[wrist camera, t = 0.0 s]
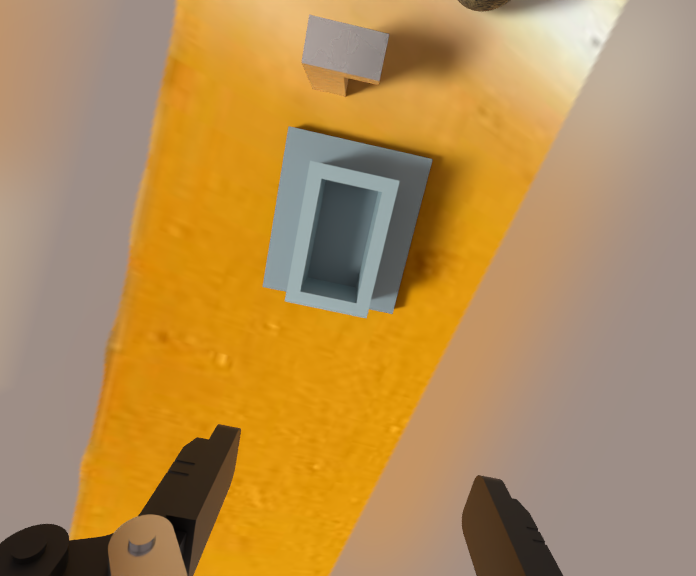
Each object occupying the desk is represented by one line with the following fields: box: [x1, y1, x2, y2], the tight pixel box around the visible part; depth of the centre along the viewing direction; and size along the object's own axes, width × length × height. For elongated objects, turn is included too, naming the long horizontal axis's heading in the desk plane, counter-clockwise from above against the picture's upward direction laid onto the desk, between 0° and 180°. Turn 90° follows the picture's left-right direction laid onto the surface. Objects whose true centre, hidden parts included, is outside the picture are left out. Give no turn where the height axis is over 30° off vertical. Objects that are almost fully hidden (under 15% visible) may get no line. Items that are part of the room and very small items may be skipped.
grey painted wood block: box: [302, 15, 389, 96], centre depth 32 cm, size 3×6×8 cm, turn 78°
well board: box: [263, 127, 433, 318], centre depth 36 cm, size 16×14×7 cm
